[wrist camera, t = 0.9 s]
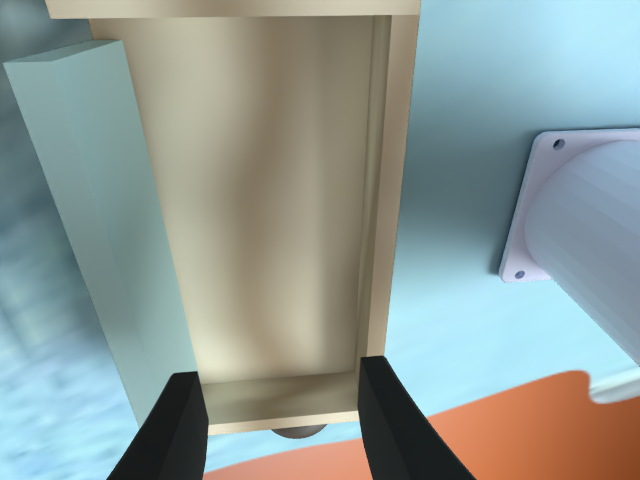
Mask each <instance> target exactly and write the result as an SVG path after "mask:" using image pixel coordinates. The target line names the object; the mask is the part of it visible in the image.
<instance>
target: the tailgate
mask: <svg viewBox="0 0 640 480" xmlns="http://www.w3.org/2000/svg"><path fill="white" fill-rule="evenodd" d="M3 66H4V68H5V71H6V74H7V76H8V79H9V82H10V84H11V87H12V90H13V92H14V95H15V98H16V100H17V103H18V106H19V108H20V111H21V114H22V116H23V119H24V122H25V124H26V127H27V130H28V132H29V135H30V138H31V140H32V143H33V146H34V148H35V151H36V154H37V156H38V159H39V162H40V164H41V167H42V170H43V172H44V175H45V178H46V180H47V183H48V186H49V188H50V191H51V194H52V196H53V199H54V202H55V204H56V207H57V210H58V212H59V215H60V218H61V220H62V223H63V226H64V228H65V231H66V234H67V237H68V239H69V242H70V245H71V247H72V250H73V253H74V255H75V258H76V261H77V263H78V266H79V269H80V271H81V274H82V277H83V279H84V282H85V285H86V287H87V290H88V293H89V295H90V298H91V301H92V303H93V306H94V309H95V311H96V314H97V317H98V319H99V322H100V325H101V327H102V330H103V333H104V335H105V338H106V341H107V343H108V346H109V349H110V351H111V354H112V357H113V359H114V362H115V365H116V367H117V370H118V373H119V375H120V378H121V381H122V383H123V386H124V389H125V391H126V394H127V397H128V399H129V402H130V405H131V407H132V410H133V413H134V415H135V418H136V421H137V423H138V426H139V429H140V428H141V427H142V425H143V423H144V422H145V420H146V418H147V417H148V415H149V413H150V412H151V410H152V408H153V407H154V405H155V403H156V401H157V400H158V398H159V396H160V394H161V392H162V391H163V389H164V387H165V385H166V383H167V382H168V380H169V378H170V376H171V375H172V374H173V373H179V372H191V371H198V368H197V364H196V359H195V355H194V351H193V346H192V342H191V337H190V333H189V329H188V324H187V320H186V316H185V311H184V307H183V303H182V298H181V294H180V289H179V285H178V281H177V276H176V272H175V268H174V263H173V259H172V255H171V250H170V246H169V241H168V237H167V233H166V228H165V224H164V220H163V215H162V211H161V206H160V202H159V198H158V193H157V189H156V185H155V180H154V176H153V172H152V167H151V163H150V158H149V154H148V150H147V145H146V141H145V137H144V132H143V128H142V123H141V119H140V115H139V110H138V106H137V102H136V97H135V93H134V89H133V84H132V80H131V75H130V71H129V67H128V62H127V58H126V54H125V49H124V45H123V40H89V41H85V42H81V43H77V44H73V45H69V46H65V47H61V48H58V49H54V50H50V51H46V52H42V53H38V54H34V55H30V56H26V57H22V58H18V59H15V60H11V61H7V62H3ZM198 375H199V372H198ZM199 379H200V377H199Z"/></svg>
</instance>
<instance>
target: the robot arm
mask: <svg viewBox="0 0 640 480" xmlns="http://www.w3.org/2000/svg"><path fill="white" fill-rule="evenodd" d="M558 139H560V142H559V144H558V145H557V146H556V147H553V145H554V143H555V142H556V141H557V140H558ZM518 271H520V272H519V273H518V274H516V273H517V272H518ZM499 277H500V278H501V280H502V281H504V282H507V283H509V282H524V281H538V280H552V279H553V280H554V281H555V282H556V283H557V284H558V285H559V286H560V287H561V288H562V289H563V290H564V291H565V292H566V293H567V294H568V295H569V296H570V297H571V298H572V299H573V300H574V301H575V302H576V303H577V304H578V305H579V306H580V307H581V308H582V309H583V310H584V311H585V312H586V313H587V314H588V315H589V316H590V317H591V318H592V319H593V320H594V321H595V322H596V323H597V324H598V325H599V326H600V327H601V328H602V329H603V330H604V331H605V332H606V333H607V334H608V335H609V336H610V337H611V338H612V339H613V340H614V341H615V342H616V343H617V344H618V345H619V346H620V347H621V348H622V349H623V350H624V351H625V352H626V353H627V354H628V355H629V356H630V357H631V358H632V359H633V360H634V361H635V362H636V363H637V364H638V366H639V367H640V128H629V129H602V130H576V131H549V132H543V133H541V134H539V135H538V136H537V137H536V138H535V140H534V142H533V145H532V149H531V153H530V157H529V160H528V164H527V168H526V172H525V175H524V179H523V183H522V187H521V190H520V194H519V198H518V202H517V205H516V209H515V213H514V216H513V220H512V224H511V228H510V231H509V235H508V239H507V243H506V246H505V250H504V254H503V258H502V261H501V265H500V269H499ZM357 408H358V414H359V420H360V426H361V432H362V438H363V443H364V448H365V452H366V455H367V459H368V463H369V467H370V470H371V474H372V478H373V480H476V479H475V477H474V476H473V475H472V474H471V473H470V472H469V471H468V469H466V467H465V466H464V465H463V464H462V463H461V461H460V460H459V459H458V458H457V457H456V456H455V454H454V453H453V452H452V451H451V450H450V449H449V447H448V446H447V445H446V443H445V442H444V441H443V440H442V438H441V437H440V436H439V435H438V433H437V432H436V431H435V430H434V428H433V427H432V426H431V424H430V423H429V422H428V420H427V419H426V417H425V416H424V415H423V413H422V412H421V411H420V409H419V408H418V407H417V405H416V404H415V402H414V401H413V400H412V398H411V397H410V395H409V394H408V392H407V391H406V389H405V388H404V386H403V385H402V383H401V382H400V380H399V379H398V377H397V376H396V374H395V372H394V371H393V369H392V367H391V366H390V364H389V362H388V361H387V359H386V358H385V357H384V356H383V355H380V356H369V357H360V372H359V388H358V403H357ZM208 427H209V418H208V414H207V410H206V405H205V401H204V397H203V392H202V388H201V384H200V379H199V375H198V371H191V372H179V373H173V374H172V375H171V376H170V378H169V380H168V382H167V383H166V385H165V387H164V389H163V391H162V392H161V394H160V396H159V398H158V400H157V401H156V403H155V405H154V407H153V408H152V410H151V412H150V413H149V415H148V417H147V418H146V420H145V422H144V423H143V425H142V427H141V428H140V430H139V431H138V433H137V434H136V436H135V437H134V439H133V441H132V442H131V444H130V445H129V447H128V448H127V450H126V452H125V453H124V455H123V456H122V458H121V459H120V461H119V462H118V464H117V465H116V466H115V468H114V469H113V471H112V472H111V474H110V475H109V476H108V478H107V479H106V480H202V478H203V473H204V467H205V462H206V451H207V440H208Z"/></svg>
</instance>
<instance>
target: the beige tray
mask: <svg viewBox="0 0 640 480" xmlns="http://www.w3.org/2000/svg"><path fill="white" fill-rule="evenodd" d="M45 2H46V5H47V8H48V12H49V15H50V18H51V19H82V18H88V21H89V25H90V29H91V33H92V37H93V40H123V45H124V49H125V54H126V58H127V62H128V67H129V71H130V75H131V80H132V84H133V89H134V93H135V97H136V102H137V106H138V110H139V115H140V119H141V123H142V128H143V132H144V137H145V141H146V145H147V150H148V154H149V158H150V163H151V167H152V172H153V176H154V180H155V185H156V189H157V193H158V198H159V202H160V206H161V211H162V215H163V220H164V224H165V228H166V233H167V237H168V241H169V246H170V250H171V255H172V259H173V263H174V268H175V272H176V276H177V281H178V285H179V289H180V294H181V298H182V303H183V307H184V311H185V316H186V320H187V324H188V329H189V333H190V337H191V342H192V346H193V351H194V355H195V359H196V364H197V368H198V372H199V377H200V384H201V388H202V392H203V397H204V401H205V405H206V410H207V414H208V418H209V427H208V435H218V434H228V433H238V432H249V431H259V430H269V429H271V430H272V431H273V432H275V433H276V434H278V435H280V436H283V437H286V438H292V439H300V438H306V437H309V436H312V435H314V434H316V433H318V432H319V431H321V430H322V429H323V428H324V427H325V426H326V425H327V424H330V423H340V422H351V421H360V420H359V414H358V408H357V403H358V388H359V372H360V357H369V356H380V355H383V356H384V351H385V341H386V332H387V322H388V313H389V303H390V293H391V284H392V274H393V265H394V255H395V246H396V236H397V227H398V217H399V208H400V198H401V189H402V179H403V169H404V160H405V150H406V141H407V131H408V122H409V112H410V103H411V93H412V84H413V74H414V65H415V55H416V45H417V36H418V26H419V17H420V7H421V0H45Z"/></svg>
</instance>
